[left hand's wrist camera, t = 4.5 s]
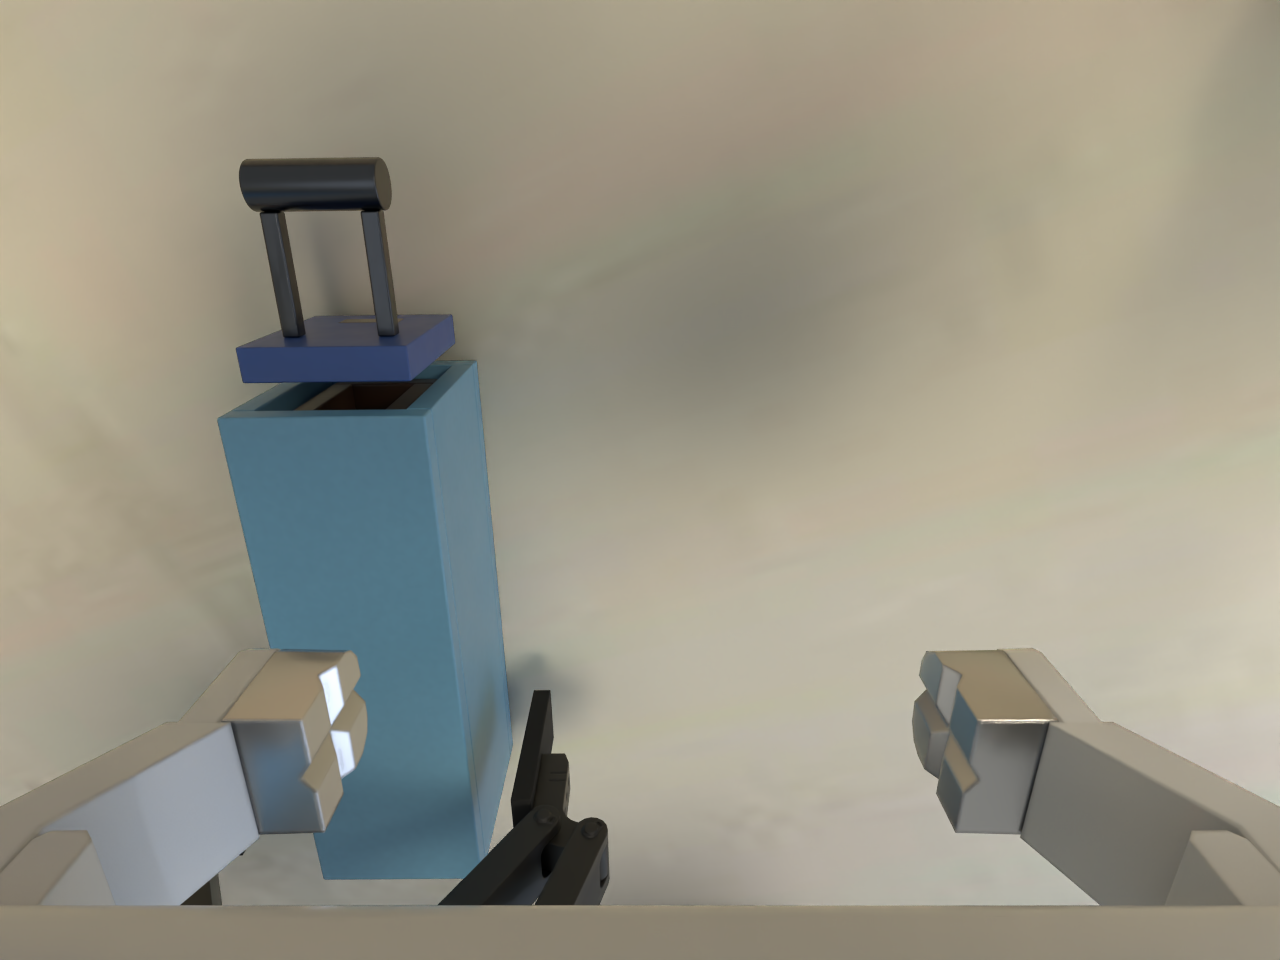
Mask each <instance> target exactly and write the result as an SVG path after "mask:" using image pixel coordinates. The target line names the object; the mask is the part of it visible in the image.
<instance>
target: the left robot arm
mask: <svg viewBox="0 0 1280 960" xmlns="http://www.w3.org/2000/svg"><path fill="white" fill-rule="evenodd" d="M360 676H361V673H360V668H359V664H358V659H357V656H356V655H355V654H354V653H353V652H352V651H351V650H318V649H282V650H281V649H246V650H243V651H240V652H239V653H238V654H237V655H236V656H235V657H234V658H233V659H232V661H231V662H230V663H229V664H228V665H227V666H226V668H225V669H224V670H223V671H222V672H221V673H220V674H219V676H218V677H217V678H216V679H215V680H214V681H213V683H212V684H211V685H210V686H209V687H208V688H207V690H206V691H205V692H204V693H203V694H202V695H201V696H200V698H199V699H198V700H197V701H196V702H195V703H194V705H193V706H192V707H191V708H190V709H189V710H188V711H187V713H186V714H185V715H184V716H183V717H182V718H181V720H180V721H179V722H166V723H164V724H162V725H160V726H158V727H156V728H154V729H152V730H150V731H148V732H146V733H144V734H142V735H141V736H139V737H137V738H135V739H133V740H131V741H129V742H127V743H125V744H123V745H121V746H119V747H117V748H115V749H113V750H111V751H109V752H107V753H105V754H103V755H101V756H99V757H97V758H95V759H93V760H91V761H89V762H87V763H85V764H83V765H81V766H79V767H77V768H75V769H73V770H72V771H70V772H68V773H66V774H64V775H62V776H60V777H58V778H56V779H54V780H52V781H50V782H48V783H46V784H44V785H42V786H40V787H38V788H36V789H34V790H32V791H30V792H28V793H26V794H24V795H22V796H20V797H18V798H16V799H14V800H12V801H10V802H8V803H6V804H4V805H3V806H1V807H0V960H1280V807H1279V806H1277V805H1275V804H1273V803H1271V802H1269V801H1267V800H1265V799H1263V798H1261V797H1259V796H1257V795H1255V794H1253V793H1251V792H1249V791H1248V790H1246V789H1244V788H1242V787H1240V786H1238V785H1236V784H1234V783H1232V782H1230V781H1228V780H1226V779H1224V778H1222V777H1220V776H1218V775H1216V774H1214V773H1212V772H1210V771H1208V770H1206V769H1204V768H1202V767H1200V766H1198V765H1196V764H1194V763H1192V762H1191V761H1189V760H1187V759H1185V758H1183V757H1181V756H1179V755H1177V754H1175V753H1173V752H1171V751H1169V750H1167V749H1165V748H1163V747H1161V746H1159V745H1157V744H1155V743H1153V742H1151V741H1149V740H1147V739H1145V738H1143V737H1141V736H1139V735H1137V734H1135V733H1134V732H1132V731H1130V730H1128V729H1126V728H1124V727H1122V726H1120V725H1118V724H1116V723H1114V722H1101V721H1100V720H1099V718H1098V717H1097V716H1096V715H1095V714H1094V713H1093V711H1092V710H1091V709H1090V708H1089V707H1088V706H1087V705H1086V703H1085V702H1084V701H1083V700H1082V699H1081V698H1080V696H1079V695H1078V694H1077V693H1076V692H1075V691H1074V690H1073V688H1072V687H1071V686H1070V685H1069V684H1068V683H1067V681H1066V680H1065V679H1064V678H1063V677H1062V676H1061V675H1060V673H1059V672H1058V671H1057V670H1056V669H1055V668H1054V666H1053V665H1052V664H1051V663H1050V662H1049V661H1048V660H1047V658H1046V657H1045V656H1044V655H1043V654H1042V653H1041V652H1040V651H1037V650H1035V649H1033V648H1022V649H997V650H967V651H926V653H925V655H924V657H923V659H922V662H921V667H920V673H919V676H920V678H921V680H922V682H923V683H924V685H925V687H926V690H925V691H924V692H923V693H922V694H921V695H920V696H919V697H918V698H917V699H916V700H915V703H914V710H913V718H912V726H913V738H914V743H915V747H916V750H917V754H918V757H919V759H920V761H921V763H922V765H923V767H924V769H925V770H927V771H928V772H929V773H931V774H932V775H934V776H935V777H936V778H938V779H939V781H938V786H937V792H936V794H937V796H938V798H939V800H940V802H941V804H942V806H943V808H944V810H945V812H946V814H947V816H948V818H949V820H950V822H951V824H952V826H953V829H954V831H955V833H988V834H1021V837H1020V838H1022V839H1023V840H1024V841H1025V842H1026V843H1028V844H1029V845H1030V846H1031V847H1032V848H1033V849H1035V850H1036V851H1037V852H1038V853H1039V854H1040V855H1042V856H1043V857H1044V858H1045V859H1046V860H1048V861H1049V862H1050V863H1051V864H1052V865H1053V866H1055V867H1056V868H1057V869H1058V870H1059V871H1061V872H1062V873H1063V874H1064V875H1065V876H1066V877H1068V878H1069V879H1070V880H1071V881H1072V882H1074V883H1075V884H1076V885H1077V886H1078V887H1079V888H1081V889H1082V890H1083V891H1084V892H1085V893H1087V894H1088V895H1089V896H1090V897H1091V898H1092V899H1094V900H1095V901H1096V902H1097V903H1098V904H1099V905H1101V906H626V905H389V906H215V905H181V904H182V903H183V902H184V901H185V900H187V899H188V898H189V897H190V896H191V895H193V894H194V893H195V892H196V891H197V890H198V889H200V888H201V887H202V886H203V885H204V884H206V883H207V882H208V881H209V880H210V879H211V878H213V877H214V876H215V875H216V874H217V873H219V872H220V871H221V870H222V869H223V868H224V867H226V866H227V865H228V864H229V863H230V862H232V861H233V860H234V859H235V858H236V857H237V856H239V855H240V854H241V853H242V852H243V851H245V850H246V849H247V848H248V847H249V846H250V845H252V844H253V843H254V842H255V841H256V840H258V839H259V834H291V833H325V831H326V829H327V827H328V825H329V823H330V821H331V819H332V816H333V814H334V812H335V810H336V808H337V806H338V804H339V802H340V800H341V798H342V796H343V794H344V792H343V786H342V781H341V779H342V778H344V777H345V776H346V775H348V774H349V773H351V772H352V771H353V770H355V769H356V767H357V765H358V763H359V761H360V759H361V756H362V754H363V751H364V746H365V741H366V737H367V721H368V716H367V709H366V702H365V700H364V699H363V698H362V697H361V696H360V695H359V694H358V693H357V692H356V691H355V690H354V687H355V685H356V683H357V682H358V680H359V678H360Z"/></svg>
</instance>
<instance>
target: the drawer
mask: <svg viewBox="0 0 1280 960" xmlns="http://www.w3.org/2000/svg"><path fill="white" fill-rule="evenodd" d="M239 182H240V188H241V191H242V194H243V197H244V199H245V201H246V203H247V205H248V206H249V207H250V208H251V209H252V210H253V211H256V212H261V213H260V218H261V223H262V228H263V234H264V239H265V244H266V249H267V255H268V260H269V265H270V270H271V276H272V281H273V286H274V292H275V297H276V302H277V307H278V313H279V318H280V323H281V328H282V330H279V331H277V332H274V333H272V334H269V335H267V336H264V337H262V338H259V339H257V340H254V341H252V342H249V343H247V344H244V345H242V346H239V347H237V348H236V353H237V357H238V362H239V367H240V371H241V376H242V381H243V383H299V382H337V383H336V384H334V385H332V386H330V387H329V388H327V389H326V390H324V391H323V392H321V393H319V394H318V395H316V396H315V397H313V398H312V399H310V400H309V401H307V402H306V403H304V404H302V405H301V406H299V407H298V408H296V409H295V410H293V411H302V410H393V409H407V408H408V407H409V406H410V405H411V404H412V403H414V402H415V401H416V400H417V399H418V398H419V397H420V396H421V395H422V394H423V393H424V392H425V391H426V390H427V389H428V388H429V387H430V386H431V385H432V384H433V383H434V382H436V381H437V380H438V379H414V378H415V377H416V376H417V375H418V374H419V373H421V372H422V371H423V370H424V369H425V368H427V367H428V366H429V365H430V364H431V363H432V362H434V361H435V360H436V359H437V358H438V357H440V356H441V355H442V354H443V353H444V352H445V351H447V350H448V349H449V348H450V347H451V346H452V345H454V344H455V336H454V327H453V317H452V315H451V314H445V315H397V310H396V303H395V295H394V288H393V280H392V272H391V265H390V257H389V249H388V242H387V234H386V227H385V219H384V212H383V211H382V210H388V209H389V207H390V204H391V197H392V190H391V181H390V176H389V172H388V169H387V166H386V164H385V162H384V161H383V159H381V158H379V157H363V158H286V159H246V160H244V161H243V162H242V163H241V166H240V169H239ZM293 211H361V219H362V226H363V233H364V240H365V247H366V254H367V261H368V268H369V275H370V282H371V289H372V296H373V303H374V310H375V315H360V316H314V317H312V318H309V319H307V320H303V315H302V309H301V303H300V298H299V292H298V287H297V281H296V275H295V270H294V264H293V258H292V253H291V247H290V242H289V236H288V230H287V225H286V219H285V214H284V212H293Z"/></svg>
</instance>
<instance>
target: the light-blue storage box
mask: <svg viewBox="0 0 1280 960" xmlns="http://www.w3.org/2000/svg"><path fill="white" fill-rule="evenodd" d="M414 379H438V380H437V381H436V382H434V383H433V384H432V385H431V386H430V387H429V388H428V389H427V390H426V391H425V392H424V393H423V394H422V395H421V396H420V397H419V398H418V399H417V400H416V401H415V402H414V403H412V404H411V405H410V406H409V407H408V408H407V409H393V410H302V411H293V410H295V409H296V408H298V407H299V406H301V405H302V404H304V403H306V402H307V401H309V400H310V399H312V398H313V397H315V396H316V395H318V394H319V393H321V392H323V391H324V390H326V389H327V388H329V387H330V386H332V385H334V384H336V383H337V382H299V383H280V384H279V385H277V386H275V387H273V388H271V389H270V390H268V391H266V392H264V393H262V394H260V395H259V396H257V397H255V398H253V399H251V400H250V401H248V402H246V403H244V404H242V405H240V406H239V407H237V408H235V409H233V410H231V411H230V412H228V413H226V414H224V415H222V416H221V417H219V418H218V419H217V421H218V426H219V430H220V434H221V438H222V443H223V447H224V451H225V456H226V460H227V464H228V469H229V473H230V477H231V482H232V486H233V490H234V495H235V499H236V503H237V507H238V512H239V516H240V520H241V525H242V529H243V533H244V538H245V542H246V546H247V551H248V555H249V559H250V563H251V568H252V572H253V576H254V581H255V585H256V589H257V594H258V598H259V602H260V607H261V611H262V615H263V620H264V624H265V628H266V632H267V637H268V641H269V645H270V649H281V650H282V649H318V650H351V651H352V652H353V653H354V654H355V655H356V656H357V659H358V664H359V668H360V673H361V676H360V678H359V680H358V682H357V683H356V685H355V687H354V690H355V691H356V692H357V693H358V694H359V695H360V696H361V697H362V698H363V699H364V700H365V702H366V709H367V716H368V721H367V737H366V741H365V746H364V751H363V754H362V756H361V759H360V761H359V763H358V765H357V767H356V769H355V770H353V771H352V772H351V773H349V774H348V775H346V776H345V777H344V778H342V779H341V781H342V786H343V792H344V794H343V796H342V798H341V800H340V802H339V804H338V806H337V808H336V810H335V812H334V814H333V816H332V819H331V821H330V823H329V825H328V827H327V829H326V831H325V833H313V835H314V839H315V844H316V848H317V852H318V857H319V861H320V865H321V870H322V874H323V878H324V879H325V880H340V879H464V878H465V877H466V876H467V875H468V874H469V873H470V872H471V871H472V870H473V869H474V868H475V867H476V866H477V865H478V864H479V863H480V862H481V861H482V860H483V859H484V858H485V857H486V856H487V855H488V851H489V846H490V842H491V838H492V833H493V829H494V825H495V820H496V816H497V812H498V807H499V803H500V798H501V794H502V790H503V785H504V781H505V777H506V772H507V768H508V764H509V759H510V755H511V750H512V746H513V741H512V730H511V720H510V709H509V698H508V688H507V677H506V667H505V656H504V645H503V635H502V624H501V614H500V603H499V592H498V582H497V571H496V561H495V550H494V539H493V529H492V518H491V507H490V497H489V486H488V476H487V465H486V454H485V444H484V433H483V423H482V412H481V401H480V391H479V380H478V370H477V361H434V362H432V363H431V364H430V365H429V366H428V367H427V368H425V369H424V370H423V371H422V372H421V373H419V374H418V375H417V376H416V377H415V378H414Z"/></svg>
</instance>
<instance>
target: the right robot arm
mask: <svg viewBox="0 0 1280 960" xmlns="http://www.w3.org/2000/svg"><path fill="white" fill-rule="evenodd" d="M553 738H554V736H553V721H552V707H551V692H550V690H534V693H533V697H532V702H531V707H530V712H529V716H528V721H527V726H526V730H525V735H524V740H523V745H522V749H521V754H520V759H519V764H518V768H517V773H516V778H515V783H514V787H513V792H512V797H511V807H512V817H513V827H514V828H513V829H512V830H511V831H510V832H509V833H508V834H507V835H506V836H505V837H504V838H503V839H502V840H501V841H500V842H499V843H498V844H497V845H496V846H495V847H494V848H493V849H492V850H491V851H490V852H489V853H488V855H487V856H486V857H485V858H484V859H483V860H482V861H481V862H480V863H479V864H478V865H477V866H476V867H475V868H474V869H473V870H472V871H471V872H470V873H469V874H468V875H467V876H466V877H465V878H464V879H463V880H462V881H461V882H460V883H459V884H458V885H457V886H456V887H455V888H454V889H453V890H452V891H451V892H450V893H449V894H448V895H447V896H446V897H445V898H444V899H443V900H442V901H441V902H440V903H439V904H438V905H532V904H533V903H534V902H535V901H536V899H537V898H538V899H537V901H536V903H535V905H599V904H600V902H601V899H602V897H603V895H604V893H605V890H606V888H607V886H608V883H609V852H608V829H607V825H606V824H605V823H604V822H603V820H600V819H598V818H592V817H591V818H586V819H583V820H582V821H580V822H579V823H578V822H575V821H572V820H570V819H569V818H568V817H567V811H568V803H569V794H570V777H569V762H568V760H567V757H566V755H565V754H551V751H552V744H553ZM244 852H245V851H243V852H242V853H241V854H240V855H243V854H244ZM181 905H215V906H222V901H221V893H220V885H219V877H218V873H217V874H216V875H215V876H214V877H213V878H211V879H210V880H209V881H208V882H207V883H206V884H204V885H203V886H202V887H201V888H200V889H198V890H197V891H196V892H195V893H194V894H193V895H191V896H190V897H189V898H188V899H187V900H185V901H184V902H183V903H182V904H181Z"/></svg>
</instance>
